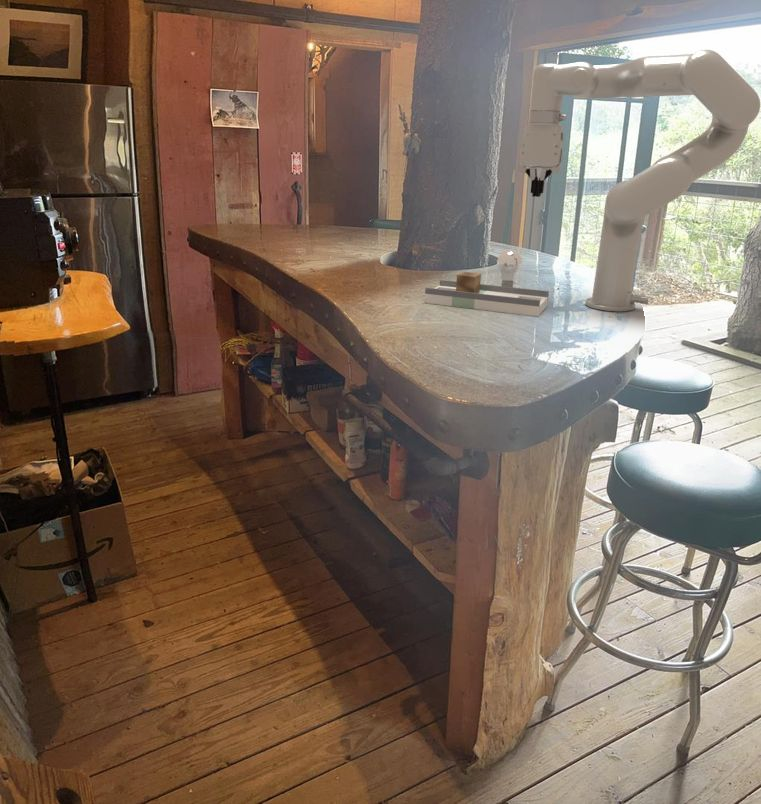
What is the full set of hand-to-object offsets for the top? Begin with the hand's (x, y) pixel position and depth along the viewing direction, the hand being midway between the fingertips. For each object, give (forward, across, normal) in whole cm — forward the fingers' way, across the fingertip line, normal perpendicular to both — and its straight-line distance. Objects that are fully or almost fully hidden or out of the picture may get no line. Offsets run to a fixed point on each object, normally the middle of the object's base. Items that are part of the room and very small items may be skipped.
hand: (536, 196), depth 169 cm
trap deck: (+27, +8, +12) cm, 31 cm away
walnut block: (+25, +13, +12) cm, 30 cm away
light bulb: (+27, +7, -7) cm, 29 cm away
